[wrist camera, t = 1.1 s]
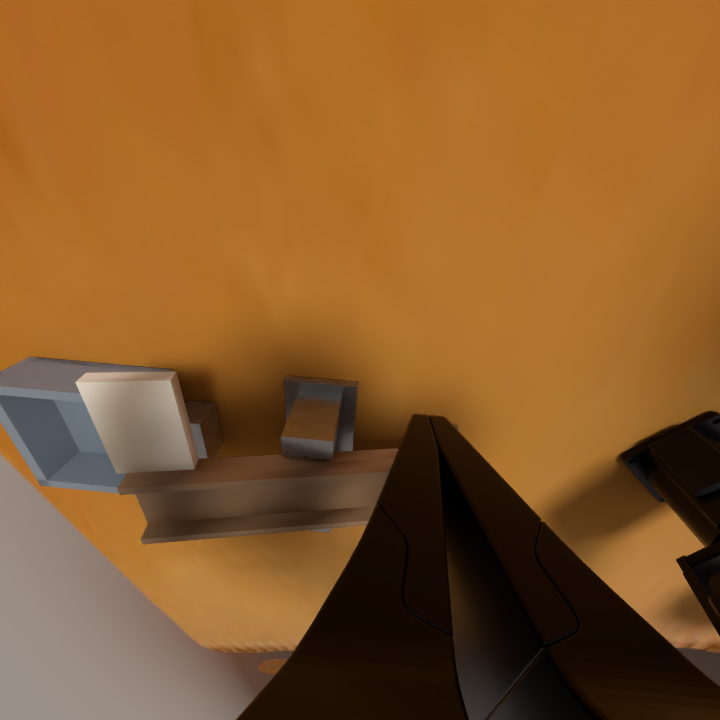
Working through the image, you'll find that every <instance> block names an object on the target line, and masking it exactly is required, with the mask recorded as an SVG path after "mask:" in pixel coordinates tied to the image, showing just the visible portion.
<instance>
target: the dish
mask: <svg viewBox="0 0 720 720" xmlns="http://www.w3.org/2000/svg"><path fill="white" fill-rule="evenodd" d="M103 372H173V369H162V368H151V367H140V366H128V365H117V364H106V363H95V362H84V361H73V360H61V359H50V358H39V357H28V358H26V359H24V360H22V361H20V362H18V363H16V364H14V365H12V366H10V367H9V368H7V369H5V370H3V371H1V372H0V422H1V424H2V425H3V427H4V429H5V430H6V432H7V433H8V435H9V436H10V438H11V440H12V441H13V443H14V444H15V446H16V447H17V449H18V451H19V452H20V454H21V455H22V457H23V458H24V460H25V462H26V463H27V465H28V466H29V468H30V469H31V471H32V473H33V474H34V476H35V477H36V479H37V480H38V482H39V484H40V485H41V486H49V487H60V488H70V489H80V490H90V491H100V492H111V493H119V492H118V489H117V488H118V486H119V485H120V483H121V481H122V480H123V478H124V476H125V475H126V473H120V474H116V472H115V469H114V467H113V465H112V463H111V460H110V458H109V456H108V454H107V452H106V449H105V447H104V445H103V443H102V440H101V438H100V436H99V434H98V432H97V429H96V427H95V425H94V423H93V421H92V418H91V416H90V414H89V412H88V409H87V407H86V405H85V403H84V401H83V398H82V396H81V394H80V392H79V389H78V387H77V385H76V383H75V382H76V381H77V380H78V379H79V378H80V377H82V376H83V375H84V374H85V373H103ZM131 495H136V494H131Z"/></svg>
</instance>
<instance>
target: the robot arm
mask: <svg viewBox="0 0 720 720" xmlns="http://www.w3.org/2000/svg"><path fill="white" fill-rule="evenodd" d="M621 460H622V461H623V462H624V464H625V465H626V466H627V467H628V468H629V469H630V470H631V471H632V473H633V474H634V475H635V476H636V477H637V478H638V479H639V480H640V482H641V483H642V484H643V485H644V486H645V487H646V488H647V489H648V490H649V492H650V493H651V494H652V495H653V496H654V497H655V498H656V499H657V500H658V501H659V502H666V503H667V504H668V505H669V506H670V507H671V508H672V510H673V511H674V512H675V513H676V514H677V515H678V516H679V518H680V519H681V520H682V521H683V522H684V523H685V525H686V526H687V527H688V528H689V529H690V530H691V531H692V533H693V534H694V535H695V536H696V537H697V538H698V539H699V541H700V542H701V543H702V544H703V545H704V546H705V548H703V549H701V550H699V551H697V552H694V553H692V554H690V555H688V556H682V557H680V558H678V559H676V561H677V563H678V564H679V566H680V568H681V569H682V571H683V575H684V577H685V579H686V580H687V582H688V584H689V585H690V587H691V589H692V590H693V592H694V594H695V595H696V597H697V599H698V600H699V602H700V604H701V606H702V607H703V609H704V611H705V612H706V614H707V616H708V617H709V619H710V621H711V622H712V624H713V626H714V627H715V629H716V631H717V632H718V634H719V636H720V413H718V412H711V413H708V414H706V415H704V416H702V417H700V418H698V419H696V420H694V421H692V422H690V423H687V424H685V425H683V426H681V427H679V428H677V429H675V430H673V431H671V432H669V433H667V434H665V435H663V436H661V437H659V438H656V439H654V440H652V441H650V442H648V443H646V444H644V445H642V446H640V447H638V448H636V449H634V450H632V451H630V452H628V453H626V454H624V455H623V456H622V457H621ZM236 720H720V686H719V685H717V684H716V683H715V682H714V681H712V680H711V679H709V678H708V677H707V676H706V675H705V674H703V672H701V671H700V670H699V669H698V668H697V667H696V666H695V665H693V664H692V663H691V662H690V661H689V660H688V659H687V658H686V657H685V656H683V655H682V654H681V653H680V652H679V651H678V650H677V649H676V648H675V647H674V646H673V645H672V644H670V643H669V642H668V641H667V640H666V639H665V638H664V637H663V636H662V635H661V634H660V633H659V632H657V631H656V630H655V629H654V628H653V627H652V626H651V625H650V624H649V623H648V622H647V621H646V620H644V619H643V618H642V617H641V616H640V615H639V614H638V613H637V612H636V611H635V610H634V609H633V608H631V607H630V606H629V605H628V604H627V603H626V602H625V601H624V600H623V599H622V598H621V597H620V596H618V595H617V594H616V593H615V592H614V591H613V590H612V589H611V588H610V587H609V586H608V585H607V584H606V583H605V582H604V581H602V580H601V579H600V578H599V577H598V576H597V575H596V574H595V573H594V572H593V571H592V570H591V569H590V568H589V567H588V566H587V565H586V564H585V563H584V562H583V561H582V560H581V559H580V558H579V557H578V556H577V555H576V554H575V553H574V552H573V551H572V550H571V549H570V548H569V547H568V546H567V545H566V544H565V543H564V542H563V541H562V540H561V539H560V538H559V537H558V536H557V535H556V534H555V533H554V532H553V531H552V530H551V529H550V528H549V526H548V525H547V524H546V523H545V522H543V521H542V522H541V518H540V517H539V516H538V515H537V514H536V513H535V512H534V511H533V510H532V509H531V508H530V507H529V505H528V504H527V503H526V502H525V501H524V500H523V499H522V498H521V497H520V496H519V495H518V494H517V493H516V492H515V491H514V490H513V488H512V487H511V486H510V485H509V484H508V483H507V482H506V481H505V480H504V479H503V478H502V477H501V476H500V475H499V474H498V473H497V472H496V470H495V469H494V468H493V467H492V466H491V465H490V464H489V463H488V462H487V461H486V460H485V459H484V458H483V457H482V456H481V455H480V453H479V452H478V451H477V450H476V449H475V448H474V447H473V446H472V445H471V444H470V443H469V442H468V441H467V440H466V439H465V438H464V437H463V435H462V434H461V433H460V432H459V431H458V430H457V429H456V428H455V427H454V426H453V425H452V424H451V423H450V422H449V421H448V420H447V419H446V418H445V417H444V416H435V415H430V416H429V417H428V416H427V415H424V414H413V415H412V417H411V419H410V422H409V424H408V426H407V429H406V431H405V434H404V436H403V439H402V441H401V444H400V446H399V449H398V451H397V454H396V456H395V459H394V461H393V463H392V466H391V468H390V471H389V473H388V476H387V478H386V481H385V483H384V486H383V488H382V491H381V493H380V495H379V498H378V500H377V503H376V506H375V507H374V510H373V512H372V515H371V517H370V520H369V522H368V524H367V526H366V528H365V531H364V533H363V535H362V537H361V539H360V541H359V543H358V545H357V547H356V549H355V551H354V552H353V554H352V556H351V558H350V560H349V562H348V563H347V565H346V567H345V569H344V570H343V572H342V574H341V575H340V577H339V579H338V580H337V582H336V584H335V585H334V587H333V589H332V590H331V592H330V594H329V596H328V597H327V599H326V601H325V602H324V604H323V606H322V607H321V609H320V611H319V612H318V614H317V616H316V617H315V619H314V621H313V622H312V624H311V626H310V627H309V629H308V630H307V632H306V634H305V635H304V637H303V638H302V640H301V641H300V643H299V644H298V646H297V647H296V649H295V650H294V651H293V653H292V655H291V656H290V657H289V658H288V660H287V661H286V662H285V664H284V665H283V666H282V667H281V669H280V670H279V671H278V672H277V673H276V674H275V675H274V677H273V678H272V679H271V680H270V681H269V682H268V683H267V685H266V686H265V687H264V688H263V689H262V690H261V692H260V693H259V694H258V695H257V696H256V697H255V698H254V700H253V701H252V702H251V703H250V704H249V705H248V706H247V708H246V709H245V710H244V711H243V712H242V713H241V714H240V716H239V717H238V718H237V719H236Z"/></svg>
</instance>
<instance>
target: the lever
mask: <svg viewBox="0 0 720 720" xmlns="http://www.w3.org/2000/svg"><path fill="white" fill-rule="evenodd" d="M75 383H76V385H77V387H78V389H79V392H80V394H81V396H82V398H83V401H84V403H85V405H86V407H87V409H88V412H89V414H90V416H91V418H92V421H93V423H94V425H95V427H96V429H97V432H98V434H99V436H100V438H101V440H102V443H103V445H104V447H105V449H106V452H107V454H108V456H109V458H110V460H111V463H112V465H113V467H114V469H115V472H116V474H120V473H126V475H125V476H124V478H123V480H122V481H121V483H120V485H119V486H118V488H117V489H118V492H119V494H120V495H125V494H136V496H137V499H138V501H139V503H140V506H141V508H142V511H143V513H144V515H145V518H146V520H147V522H148V525H147V527H146V529H145V531H144V533H143V536H142V538H141V541H142V543H143V544H152V543H164V542H176V541H187V540H199V539H211V538H223V537H234V536H246V535H258V534H270V533H281V532H293V531H305V530H317V529H328V528H340V527H352V526H364V525H367V524H368V522H369V520H370V517H371V515H372V512H373V510H374V507H375V506H376V503H377V500H378V498H379V495H380V493H381V491H382V488H383V486H384V483H385V481H386V478H387V476H388V473H389V471H390V468H391V466H392V463H393V461H394V459H395V456H396V454H397V451H398V449H399V448H397V449H378V450H358V451H338V452H334V455H333V460H324V459H313V458H302V457H292V456H282V454H279V455H259V456H239V457H219V458H199V457H198V453H197V450H196V446H195V442H194V438H193V434H192V430H191V426H190V422H189V418H188V415H187V411H186V407H185V403H184V399H183V395H182V391H181V387H180V384H179V380H178V376H177V372H103V373H85V374H84V375H83V376H82V377H80V378H79V379H78V380H77V381H76V382H75Z"/></svg>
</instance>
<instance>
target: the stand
mask: <svg viewBox="0 0 720 720" xmlns="http://www.w3.org/2000/svg"><path fill="white" fill-rule="evenodd" d="M284 386H285V402H286V418H287V422H286V424H285V427H284V430H283V432H282V435H281V447H282V456H292V457H302V458H313V459H324V460H333V455H334V452H338V451H353V440H354V426H355V413H356V399H357V386H358V382H352V381H341V380H330V379H319V378H308V377H296V376H286V378H285V380H284ZM185 407H186V411H187V415H188V418H189V422H190V426H191V430H192V434H193V438H194V442H195V446H196V450H197V453H198V457H199V458H214V457H215V455H216V454H217V452H218V450H219V449H220V447H221V445H222V444H223V439H222V434H221V428H220V423H219V418H218V413H217V408H216V403H211V402H200V401H190V400H189V401H188V402H187V403H186V405H185ZM453 426H454V427H455V428H456V429H457V430H458V427H457V425H453ZM310 531H320V532H330V531H331V528H328V529H317V530H310Z"/></svg>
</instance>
